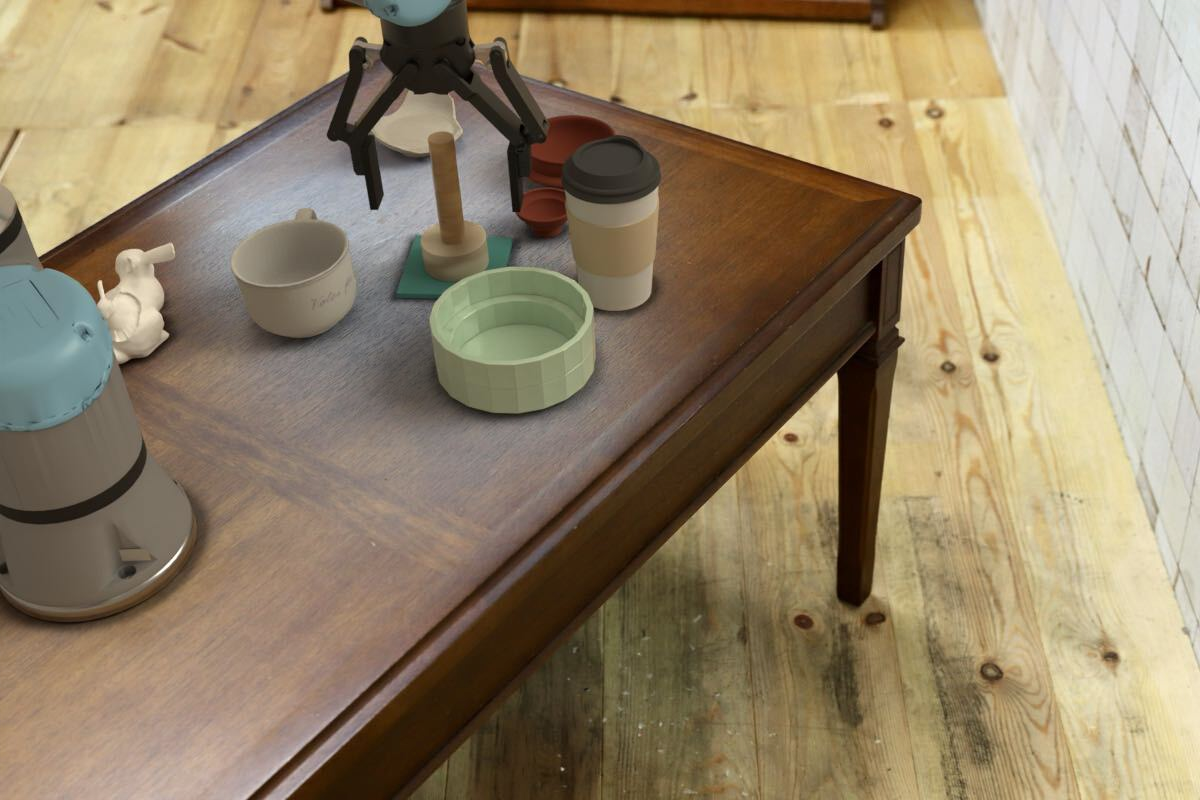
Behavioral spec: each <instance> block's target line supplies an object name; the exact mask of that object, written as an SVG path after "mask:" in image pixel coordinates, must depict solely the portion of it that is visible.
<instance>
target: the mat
mask: <svg viewBox="0 0 1200 800" xmlns="http://www.w3.org/2000/svg"><path fill="white" fill-rule="evenodd" d="M421 237H422V235H418V234H417V235H414V238H413V241H412V244H411V247H410V250H409V253H408V256H407V259H406V261H405V265H404V268H403V271H402V274H401V276H400V280H399V283H398V286H397V289H396V292H395V296H396V298H397V299H430V300H431V299H433V300H438V298H439V297H440V296H441V295H442V294H443V293H444V291H445V290H446V289H448V288H450V287H451V286H453V285H454V284H456V283H457V282H447V281H441V280H437V279H435V278H433V277H431V276H430V275H429V274H428V273H427V272H426V271H425V268H424V262H423V255H422V249H421ZM486 237H487V246H488V255H489V264H488V266H487V268H486V269H485V270H484V271H486V270H492V269H498V268H504V267H508V264H509V260H510V256H511V252H512V247H513V243H514V238H513V236H486ZM458 282H459V281H458Z"/></svg>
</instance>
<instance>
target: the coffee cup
mask: <svg viewBox="0 0 1200 800" xmlns="http://www.w3.org/2000/svg"><path fill="white" fill-rule="evenodd" d="M661 181H662V173H661V165H660V162H659V160H658V159H657V158H656V157H655V155H653V154H651V153H650V152H649V151H647V150H646V149H645V148H644V147H643V146H641V144H640V143H639V142H638V141H637V140H636V139H635V138H633V137H631V136H627V135H623V134H622V135H621V134H616V135H613V136H610V137H608V138H606V139H601V140H595V141H592V142H589V143H586V144H584V145H582V146H581V147H579V148H578V149H577V150H576V151H575V152H574V153H573V154H572V155H571V156H569V157H568V158H567V160H566V161H565V162H564V164H563V167H562V176H561V183H562V186H563V188H562V189H563V190H565V194H566V201H565V206H566V212H567V219H568V221H567V225H568V231H569V236H570V237H569V238H570V239H569V240H570V245H571V251H572V258H573V261H574V263H575V267H576V274H577V283H578V284H579V285H580V286H581V287H582V288H583V289H584V290H585V291H586V292H587V293H588V295H589V297H590V300H591V303H592V305H593V308H595V309H597V310H602V311H607V312H622V311H628V310H632V309H635V308H637V307H639V306H641V305H643V304H644V303H645V302H646V301H647V300H648V299H650V296H651V294H652V287H653V272H654V261H655V260H656V259H655V258H656V253H657V238H658V225H659V210H660V197H659V185H660V183H661Z"/></svg>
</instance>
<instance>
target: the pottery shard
mask: <svg viewBox="0 0 1200 800" xmlns="http://www.w3.org/2000/svg"><path fill="white" fill-rule="evenodd" d="M456 115H457V114H456V107H455V102H454V98H453V97H451V95H450V94H448V95H439V94H435V93H427V94H423V95H414V92H412V91H410V90H408V89H407V93H406V95H405V97H404V100H403V102H402V103H401V105H400V107H399V108H398V109H397V110H396V111H395V112H393V113H391V114H389V115H386V116H385V115H384V116H382V117H381V119H380V120H379V121H378V122H377V124H376V125H375V126H374V128H373V129H372V130H371V131H370V133H369V134H370V135H374V136H375V141H377V142H378V143H379V144H381V145H382V146H384V147H386V148H388V149H389V150H392V151H395V152H399V153H400V154H402V155H404V156H405V157H407V158H408V157H409V158H425V157H426V158H427V157H430V153H429V146H428V137H429V136H430V135H431V134H433V133H435V132H440V131H445V132H449V133H451V134H453V136H454V143H456V142H457V140H458V139H459V138H460V136H461V135H462V134H463V133H464V128H462V127H461V125H460V123H459V121H458V120H457V117H456Z"/></svg>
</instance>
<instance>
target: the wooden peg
mask: <svg viewBox="0 0 1200 800" xmlns="http://www.w3.org/2000/svg"><path fill="white" fill-rule="evenodd" d="M428 146H429V153H430V155H429V160H430V166H431V167H430V168H431V174H432V182H433V189H434V197H435V204H436V211H437V220H438V223H436V224H434V225H431V226H430V227H428V228H427V229H426V230H425V231H424V232H423V233H422V235H421V236H422V237H421V249H422V255H423V262H424V268H425V271H426V272H427V273H428V274H429V275H430V276H431V277H433V278H435V279H437V280H441V281H447V282H458V281H460V280H462V279H464V278H466V277H469V276H472V275H475V274H477V273H480V272H483V271H484V270H485V269H486V268H487V266H488V264H489V255H488V246H487V237H488V236H487V232H486V230H485V229H484V228H483V227H482V225H480V224H478V223H476V222H474V221H470V220H465V218H464V211H463V210H464V209H463V202H462V194H461V185H460V177H459V170H458V159H457V154H456V142H454V136H453V134H451V133H449V132H445V131H440V132H435V133H433V134H431V135H430V136H429V137H428Z"/></svg>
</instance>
